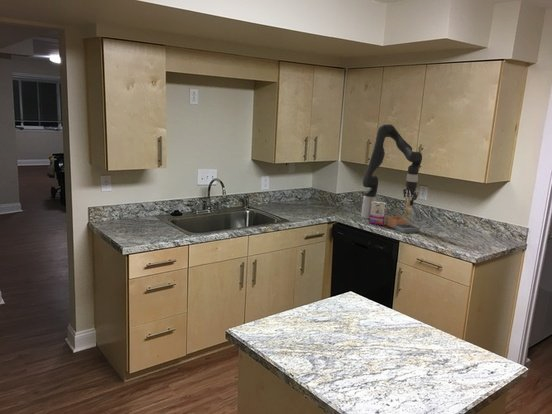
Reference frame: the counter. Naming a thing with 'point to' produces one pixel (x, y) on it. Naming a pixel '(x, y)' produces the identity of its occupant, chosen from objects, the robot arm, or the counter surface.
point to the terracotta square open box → (396, 221)
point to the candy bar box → (378, 213)
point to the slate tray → (406, 228)
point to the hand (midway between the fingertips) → (409, 204)
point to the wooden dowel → (408, 208)
